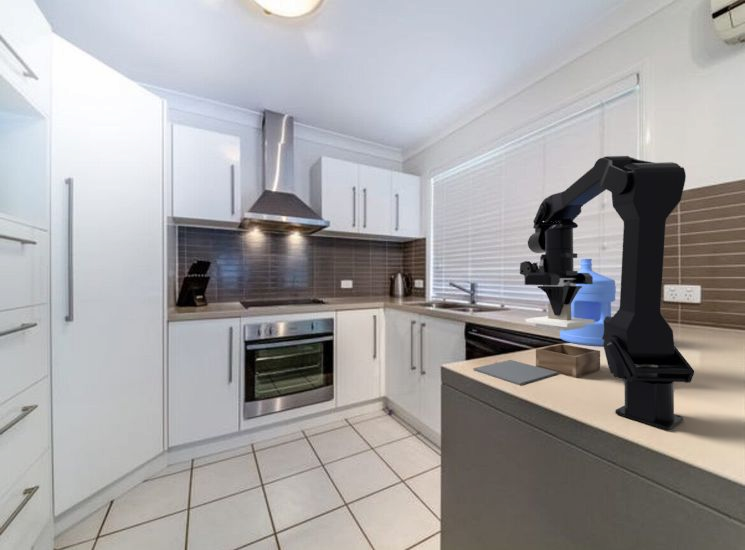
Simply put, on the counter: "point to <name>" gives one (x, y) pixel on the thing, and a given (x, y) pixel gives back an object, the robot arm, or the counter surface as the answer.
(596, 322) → the water jug
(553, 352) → the box
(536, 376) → the mat
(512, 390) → the counter surface
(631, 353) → the robot arm
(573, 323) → the lid
